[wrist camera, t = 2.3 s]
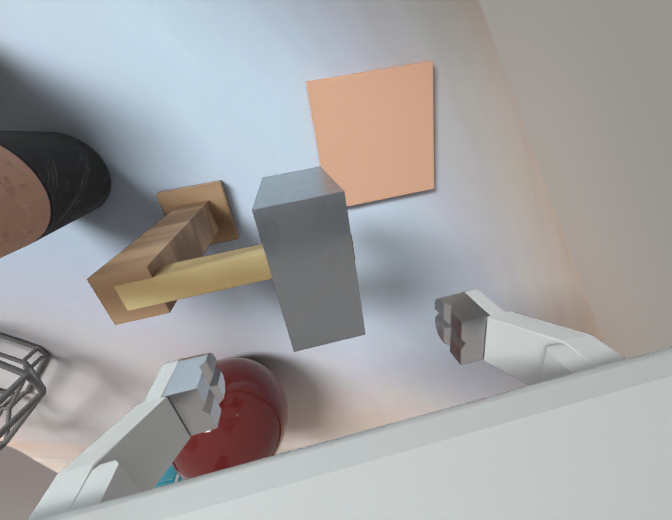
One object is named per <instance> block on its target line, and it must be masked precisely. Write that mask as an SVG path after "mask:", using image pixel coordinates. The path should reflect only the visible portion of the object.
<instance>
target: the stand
mask: <svg viewBox="0 0 672 520" xmlns="http://www.w3.org/2000/svg"><path fill="white" fill-rule="evenodd" d="M156 197H157V199H158V201H159V203H160V206H161V208H162V210H163V213H164V215H165V217H164V218H163V219H161V220H160V221H159V222H158V223H156V224H155V225H154V226H153V227H151V228H150V229H149V230H148V231H146V232H145V233H144V234H143V235H141V236H140V237H139V238H138V239H136V240H135V241H134V242H133V243H131V244H130V245H129V246H128V247H126V248H125V249H124V250H123V251H121V252H120V253H119V254H118V255H116V256H115V257H114V258H113V259H111V260H110V261H109V262H108V263H106V264H105V265H104V266H103V267H101V268H100V269H99V270H98V271H96V272H95V273H94V274H93V275H91V276H90V277H89V278H88V279H87V280H88V282H89V284H90V285H91V287H92V289H93V290H94V292H95V293H96V295H97V297H98V298H99V300H100V301H101V303H102V305H103V306H104V308H105V309H106V311H107V313H108V314H109V316H110V317H111V319H112V321H113V322H114V324H115V325H117V324H122V323H126V322H131V321H135V320H139V319H144V318H148V317H153V316H157V315H162V314H166V313H170V312H171V310H172V308H173V306H174V305H175V303H176V301H177V300H178V299H183V298H187V297H192V296H196V295H201V294H205V293H210V292H214V291H219V290H223V289H228V288H232V287H237V286H241V285H246V284H250V283H255V282H259V281H264V280H268V279H272V276H271V272H270V269H269V265H268V262H267V259H266V255H265V252H264V249H263V245H262V244H260V245H256V246H251V247H246V248H241V249H237V250H232V251H227V252H223V253H218V254H213V255H208V256H204V257H203V255H204V254H205V252H206V250H207V248H208V247H209V245H211V244H216V243H221V242H226V241H231V240H235V239H238V238H239V233H238V230H237V227H236V224H235V221H234V218H233V215H232V212H231V209H230V206H229V203H228V200H227V197H226V194H225V190H224V187H223V184H222V181H221V180H219V181H214V182H209V183H204V184H198V185H193V186H188V187H183V188H177V189H172V190H167V191H162V192H158V193H157V194H156ZM351 239H352V235H351ZM352 246H353V242H352ZM353 253H354V249H353ZM354 260H355V256H354Z"/></svg>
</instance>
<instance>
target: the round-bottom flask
mask: <svg viewBox="0 0 672 520" xmlns="http://www.w3.org/2000/svg"><path fill="white" fill-rule="evenodd" d="M215 368H217V369H219V370H221V372H222V374H223V376H224V381H225V395H224V399H223V400H222V401H221V402H220V404H219V406H220V408H221V414H220V418H219V423H218V427H217V428H216V429H213V430H209V431H206V432H202V433H199V434H196V435H192V436H190V437H191V438H190V439H189V440H188V442H187V443H186V445H185V446H184V447H183V449H182V450H181V451H180V453H179V454H178V456H177V457H176V458H175V460H174V461H173V462H172V464H171V466H172V467H173V469H174V470H175V472H176V473H177V474H178V475H179V476H180V477H181V478H182V479H183V480H186V479H190V478H193V477H197V476H200V475H204V474H208V473H211V472H215V471H219V470H222V469H226V468H230V467H233V466H237V465H241V464H244V463H248V462H252V461H255V460H259V459H263V458H266V457H270V456H274V455H275V454H276V453H277V451H278V449H279V447H280V445H281V443H282V440H283V438H284V435H285V431H286V426H287V419H288V407H287V400H286V396H285V392H284V390H283V387H282V385H281V383H280V381H279V380H278V378H277V377H276V376H275V375H274V373H273V372H272V371H271V370H269V369H268V368H267V367H266V366H264V365H263V364H261V363H259V362H257V361H254V360H251V359H247V358H240V357H233V358H225V359H221V360H217V362H216V366H215Z"/></svg>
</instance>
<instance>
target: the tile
mask: <svg viewBox="0 0 672 520" xmlns="http://www.w3.org/2000/svg"><path fill="white" fill-rule="evenodd" d="M306 89H307V94H308V100H309V106H310V111H311V117H312V123H313V128H314V134H315V140H316V145H317V151H318V157H319V162H320V167H322V168H323V169H324V170H325V171H326V172H327V174H328V175H329V176H330V177H331V178H332V179H333V180H334V181H335V182H336V183H337V184H338V185H339V186H340V187H341V188H342V189H343V190H344V191H345V198H346V205H347V206H352V205H357V204H362V203H366V202H371V201H376V200H381V199H386V198H391V197H396V196H400V195H405V194H410V193H415V192H420V191H425V190H430V189H434V124H433V61H427V62H421V63H415V64H409V65H403V66H397V67H391V68H385V69H379V70H373V71H367V72H361V73H355V74H349V75H343V76H337V77H331V78H325V79H319V80H313V81H307V82H306Z"/></svg>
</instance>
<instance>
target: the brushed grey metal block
mask: <svg viewBox="0 0 672 520" xmlns="http://www.w3.org/2000/svg"><path fill="white" fill-rule="evenodd" d="M252 211H253V215H254V218H255V221H256V225H257V228H258V232H259V235H260V238H261V242H262V245H263V249H264V252H265V255H266V259H267V262H268V265H269V269H270V272H271V276H272V279H273V282H274V286H275V289H276V293H277V296H278V299H279V303H280V306H281V309H282V313H283V316H284V320H285V323H286V326H287V330H288V333H289V337H290V340H291V343H292V347H293V350H294V352H296V351H300V350H304V349H308V348H312V347H316V346H320V345H324V344H328V343H332V342H336V341H340V340H345V339H349V338H353V337H357V336H361V335H365V328H364V321H363V314H362V308H361V301H360V294H359V287H358V280H357V273H356V267H355V260H354V253H353V246H352V239H351V232H350V226H349V219H348V212H347V205H346V198H345V191H344V190H343V189H342V188H341V187H340V186H339V185H338V184H337V183H336V182H335V181H334V180H333V179H332V178H331V177H330V176H329V175H328V174H327V172H326V171H325V170H324V169H323V168H322V167H315V168H310V169H305V170H300V171H295V172H289V173H284V174H279V175H274V176H269V177H263V178H262V181H261V184H260V187H259V190H258V193H257V196H256V199H255V203H254V206H253V209H252Z"/></svg>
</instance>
